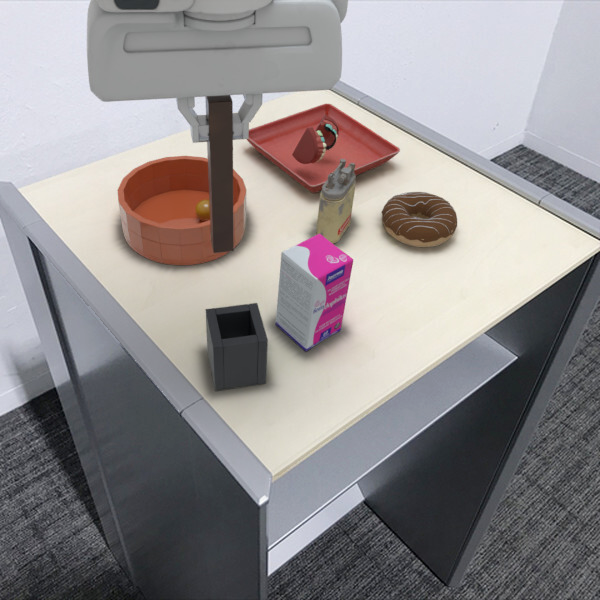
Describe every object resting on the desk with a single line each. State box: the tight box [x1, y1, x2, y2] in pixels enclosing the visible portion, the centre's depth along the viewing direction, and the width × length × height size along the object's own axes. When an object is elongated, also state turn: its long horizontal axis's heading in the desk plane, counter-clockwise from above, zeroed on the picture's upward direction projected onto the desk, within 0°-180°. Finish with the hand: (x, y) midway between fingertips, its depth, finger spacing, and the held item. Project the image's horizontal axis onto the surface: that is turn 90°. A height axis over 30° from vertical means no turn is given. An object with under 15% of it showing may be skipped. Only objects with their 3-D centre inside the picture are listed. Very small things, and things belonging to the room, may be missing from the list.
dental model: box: [292, 114, 339, 164], centre depth 99 cm, size 6×4×8 cm
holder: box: [205, 302, 269, 392], centre depth 72 cm, size 6×6×7 cm
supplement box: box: [274, 234, 354, 352], centre depth 75 cm, size 6×6×12 cm
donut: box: [381, 191, 458, 248], centre depth 93 cm, size 11×11×4 cm
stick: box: [204, 95, 235, 253], centre depth 61 cm, size 2×2×16 cm
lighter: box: [315, 159, 357, 244], centre depth 90 cm, size 7×4×10 cm, turn 155°
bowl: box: [116, 155, 247, 266], centre depth 90 cm, size 17×17×6 cm
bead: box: [195, 199, 210, 222], centre depth 91 cm, size 3×3×3 cm
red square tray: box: [246, 103, 401, 194], centre depth 105 cm, size 18×18×3 cm
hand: (219, 137), depth 58 cm, fingers closed on stick, 2 cm apart
